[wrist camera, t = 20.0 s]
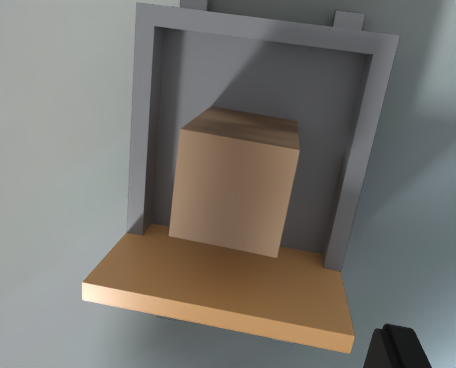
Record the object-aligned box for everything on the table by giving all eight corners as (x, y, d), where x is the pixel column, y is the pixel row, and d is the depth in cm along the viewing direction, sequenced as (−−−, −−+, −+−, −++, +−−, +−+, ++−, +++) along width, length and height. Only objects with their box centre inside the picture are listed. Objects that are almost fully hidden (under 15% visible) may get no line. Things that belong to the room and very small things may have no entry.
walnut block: (297, 120, 23) (299, 150, 16) (280, 201, 24) (276, 257, 18) (211, 106, 23) (179, 129, 17) (200, 186, 25) (168, 236, 18)
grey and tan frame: (331, 256, 27) (350, 354, 18) (145, 223, 28) (82, 299, 20) (383, 37, 22) (441, 30, 14) (158, 8, 24) (82, -14, 15)
